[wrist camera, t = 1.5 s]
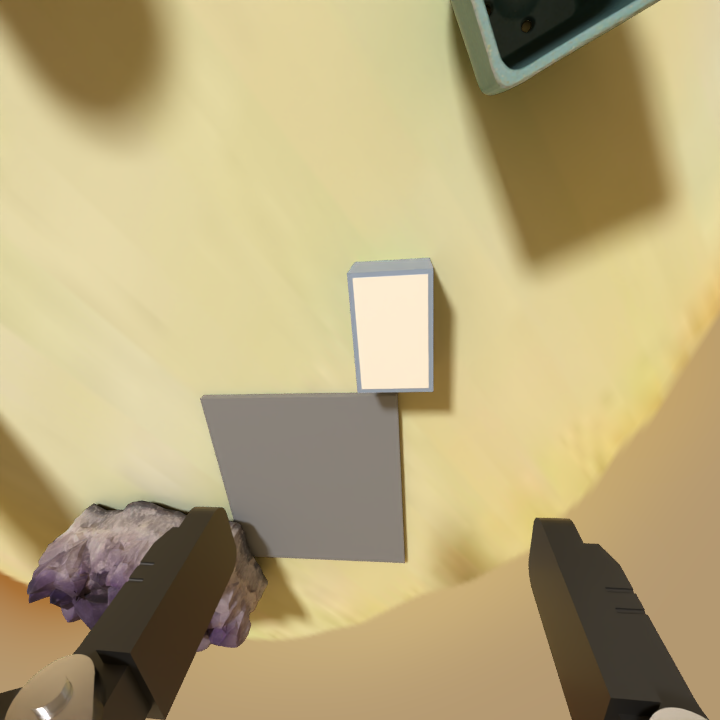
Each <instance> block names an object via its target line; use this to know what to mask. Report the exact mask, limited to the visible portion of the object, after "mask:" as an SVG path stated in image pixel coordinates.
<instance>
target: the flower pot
mask: <svg viewBox="0 0 720 720" xmlns="http://www.w3.org/2000/svg"><path fill="white" fill-rule="evenodd" d="M658 1H660V0H450V2H451V5H452V7H453V10H454V13H455V16H456V19H457V22H458V25H459V28H460V31H461V34H462V37H463V40H464V43H465V46H466V49H467V52H468V55H469V58H470V61H471V64H472V68H473V71H474V74H475V77H476V80H477V83H478V86H479V88H480V89H481V91H482V92H483V93H484V94H486V95H495V94H498V93H501V92H504V91H506V90H508V89H511V88H513V87H515V86H517V85H519V84H521V83H523V82H525V81H526V80H528V79H530V78H531V77H533V76H534V75H536V74H537V73H539V72H540V71H542V70H544V69H545V68H547V67H549V66H550V65H552V64H554V63H555V62H557V61H559V60H560V59H562V58H564V57H565V56H567V55H569V54H570V53H572V52H574V51H576V50H577V49H579V48H581V47H582V46H584V45H586V44H587V43H589V42H591V41H593V40H594V39H596V38H598V37H599V36H601V35H603V34H604V33H606V32H608V31H610V30H611V29H613V28H615V27H616V26H618V25H620V24H621V23H623V22H625V21H626V20H628V19H630V18H631V17H633V16H635V15H636V14H638V13H640V12H642V11H643V10H645V9H647V8H648V7H650V6H652V5H653V4H655V3H657V2H658ZM485 5H489V6H490V9H491V12H490V15H489V16H488V13H487V9H486V6H485ZM527 20H529V21H530V22H531V25H532V26H531V29H530V30H529V31H528V32H523V31H522V28H521V27H522V24H523V22H524V21H527Z"/></svg>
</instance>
